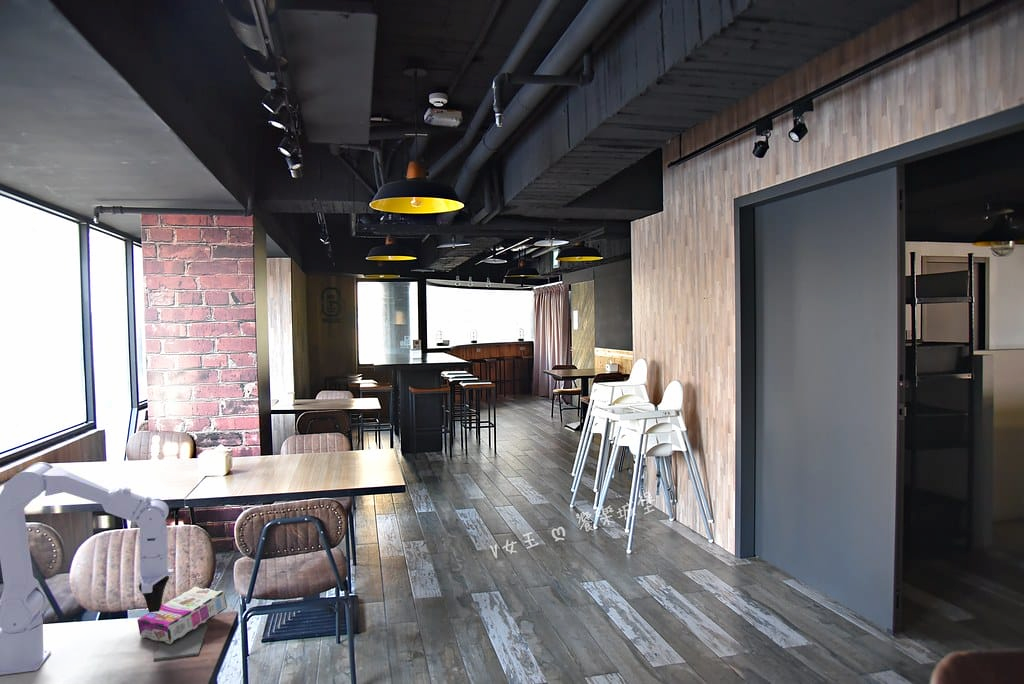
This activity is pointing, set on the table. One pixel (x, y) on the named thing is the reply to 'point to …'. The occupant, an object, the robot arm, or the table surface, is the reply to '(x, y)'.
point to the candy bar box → (182, 614)
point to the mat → (182, 645)
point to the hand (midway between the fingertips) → (154, 610)
